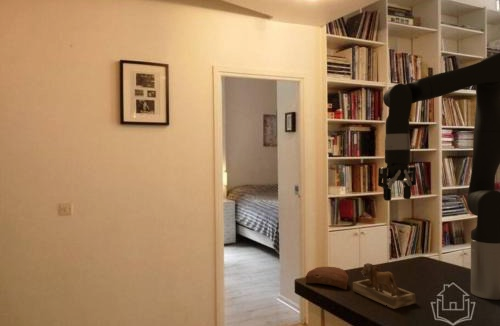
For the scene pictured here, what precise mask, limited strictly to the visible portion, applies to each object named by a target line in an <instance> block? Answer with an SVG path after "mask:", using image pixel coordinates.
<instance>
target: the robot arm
mask: <svg viewBox="0 0 500 326" xmlns="http://www.w3.org/2000/svg"><path fill="white" fill-rule="evenodd" d="M473 86H475V95H476V96H475V98H476V100H475V101H476V102H475V112H474V113H475V114H474V128H473V136H472V137H473V140H472V157H471V158H472V159H471V173H470V180H469V185H468V189H467V190H468V191H467V196H466V206H467V208H468V211H469V212H470V213H471V214H472V215H474V216H475V217H476V226H475V227H474V228H473V229H471V230H470V293H471V294H472V295H474V296H475V297H478V298H482V299H487V300H494V301H495V300H497V301H498V300H500V191H499V190H496V189H495V186H496V175H497V171H498V168H499V166H500V52H497V53H494V54H491V55H490V56H487V57H485V58H484V59H481V60H480V61H478V62H476V63H473V64H470V65H467V66H462V67H461V68H455V69H453V70H452V69H451V70H448V71H444V72H441V73H440V72H439V73H436V74H433V75H428V76H425V77H421V78H418V79H417V80H415V81H413V82H408V83H397V84H394V85H393V86H391V87H389V88H388V89H387V90H386V91H384V93H383V97H382V100H383V103H384V105H385V106H386V107H387V108H388V116H387V118H386V120H385V138H384V163H385V164H386V167H385V166H384V167H379V168H378V173H377V174H378V175H377V176H378V178H377V185H378V187H381V188H382V189H383V192H382V193H383V200H384V201H388V202H390V201H391V200H392V187H393V185H394V184H395V183H396V182H398V181H399V182H400V183H402V186H403V188H402V190H403V192H402V194H403V195H402V196H403V197H402V198H403V199H404V200H410V199H411V197H412V191H411V190H412V187H413V186H416V185H417V170H416V169H417V168H416V166H409V165H408V164H410V163H411V137H410V117H411V111H412V106H413V104H414V103H418V102H422V101H428V100H432V99H435V98H439V97H443V96H445V95H449V94H452V93H455V92H457V91H461V90H463V89H466V88H469V87H473Z"/></svg>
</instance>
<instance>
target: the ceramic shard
mask: <svg viewBox="0 0 500 326" xmlns="http://www.w3.org/2000/svg"><path fill="white" fill-rule="evenodd" d="M349 278H350V277H349V275H348V273H347V272H346V270H344V269H343V268H341V267H336V266H319V267H315V268H313V269H311V270H309V271H307V273H306V275H305V277H304V279H305V280H304V282H305V284H320V285H327V286H328V285H329V286H333V287H336V288H340V289H342V290H347V289H348V283H349Z"/></svg>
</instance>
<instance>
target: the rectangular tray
mask: <svg viewBox="0 0 500 326" xmlns="http://www.w3.org/2000/svg"><path fill="white" fill-rule="evenodd" d="M382 286H383V291H379V289H380V286H379V283H377V287H378V291H377V290H375V287H374V285H373V283H372V282H370V280H369V279H367V278H366V279H363V280H357V281H352V292H355V293H357V294H360V295H361V296H363V297H366V298H367V299H368V298H369V299H370V300H373V301H374V302H377V303H379V304H382V305H383V306H386V305H387V306H386V307H388V308H390V309H393V310H395V309H398V308H402V307H407V306H411V305H414V304H416V293H414V292H411V291H408V290H406V289H404V288H400V287H398V289H399V290H400V291H402V292H404V294H401V293H400V292H399V291H398V290H397V293H396V295H395V296H391V294H392V291H391V290H390V289H389V288H388V287H387V285H386V284H382ZM391 286H392V287H393V285H392V284H391Z"/></svg>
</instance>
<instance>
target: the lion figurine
mask: <svg viewBox="0 0 500 326" xmlns="http://www.w3.org/2000/svg"><path fill="white" fill-rule="evenodd" d="M360 273H361V275H362V276H363V277H366V279H369V280H370V282H372V283H373V285H374V287H375V290H377V291H378V287H377V283H379V286H380V289H379V291H383V286H382V284H386V285H387V287H388V288H389V289H390V290H391V291H392V294H391V296H395V295H396V293H397V290H398V291H399V292H400V293H401V294H404V292H402V291H400V290H399V289H398V288H399V287H398V286H397V283H396V278H395V275H394V273H392V272H391V271H384V272H383V271H382V270H381V269H380V268H379V267H377V266H376V265H375V264H372V263H369V262H366V263H365V264H364V265H363V268H362V270H361V271H360ZM391 285H393V287H392V286H391Z"/></svg>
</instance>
